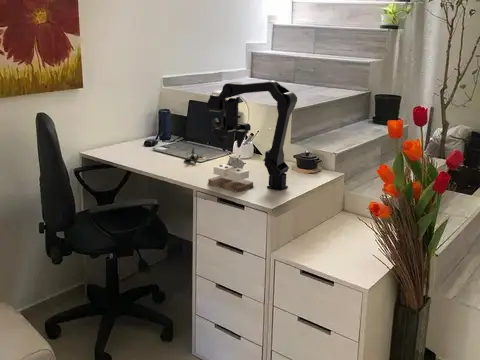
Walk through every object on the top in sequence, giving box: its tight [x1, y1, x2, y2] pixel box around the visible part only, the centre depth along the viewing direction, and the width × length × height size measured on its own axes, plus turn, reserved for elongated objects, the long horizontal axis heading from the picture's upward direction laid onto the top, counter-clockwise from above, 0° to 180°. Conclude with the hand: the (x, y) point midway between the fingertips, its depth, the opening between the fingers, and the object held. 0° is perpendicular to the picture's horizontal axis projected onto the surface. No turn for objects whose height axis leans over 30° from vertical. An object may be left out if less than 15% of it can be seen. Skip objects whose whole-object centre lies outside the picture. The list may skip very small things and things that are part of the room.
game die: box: [226, 154, 247, 169], centre depth 256 cm, size 9×8×10 cm
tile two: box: [213, 163, 234, 177], centre depth 240 cm, size 6×6×3 cm
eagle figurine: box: [183, 147, 203, 165], centre depth 272 cm, size 8×7×9 cm
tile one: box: [228, 168, 250, 181], centre depth 235 cm, size 6×6×3 cm
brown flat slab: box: [207, 175, 254, 193], centre depth 239 cm, size 16×10×2 cm, turn 51°
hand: (231, 149), depth 244 cm, fingers open, 9 cm apart
